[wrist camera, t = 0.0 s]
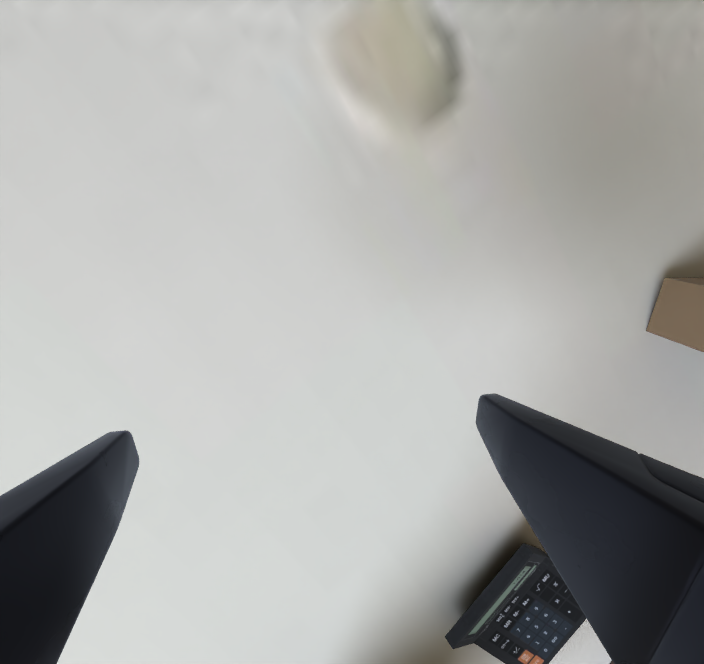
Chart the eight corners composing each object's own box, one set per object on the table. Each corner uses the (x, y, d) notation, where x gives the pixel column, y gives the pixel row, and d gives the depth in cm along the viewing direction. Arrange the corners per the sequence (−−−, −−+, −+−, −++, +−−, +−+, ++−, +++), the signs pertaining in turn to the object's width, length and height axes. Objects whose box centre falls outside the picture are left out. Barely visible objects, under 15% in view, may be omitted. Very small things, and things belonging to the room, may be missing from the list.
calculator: (526, 671, 30) (550, 711, 28) (433, 609, 28) (448, 646, 25) (593, 591, 30) (625, 623, 27) (506, 523, 28) (529, 550, 25)
